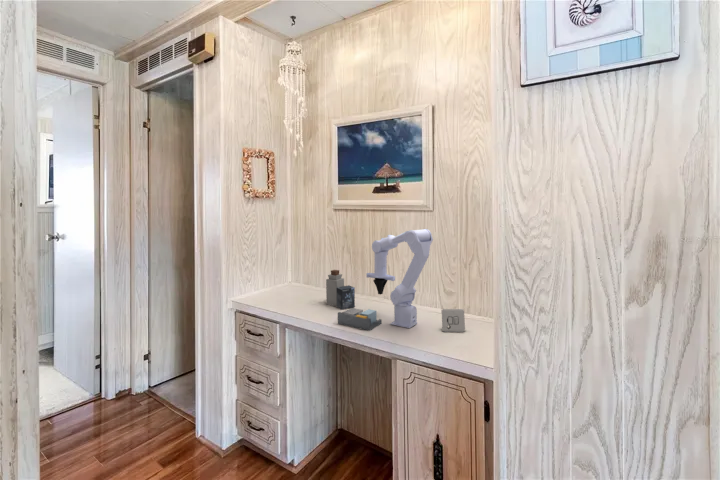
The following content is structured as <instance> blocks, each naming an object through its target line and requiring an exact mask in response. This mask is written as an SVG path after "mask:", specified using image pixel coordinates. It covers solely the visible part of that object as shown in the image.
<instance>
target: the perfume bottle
mask: <svg viewBox="0 0 720 480" xmlns="http://www.w3.org/2000/svg"><path fill="white" fill-rule="evenodd" d="M327 277H328V278H325V291H326V305H328V306H331V307H337V287H342V286H345V278H344V277H343V274H341V273H340V270H339V269H332V270H330V274H327Z"/></svg>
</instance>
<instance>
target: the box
mask: <svg viewBox="0 0 720 480" xmlns="http://www.w3.org/2000/svg"><path fill="white" fill-rule="evenodd" d="M355 292H356V290H355V287H354V286H351V285H350V284H348V285H344V286H342V287H337V306H336V308H338V309H339V310H348V309H351V308H355V307H356V306H355V304H356V301H355V299H356V296H355V294H356V293H355Z"/></svg>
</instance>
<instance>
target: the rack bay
mask: <svg viewBox="0 0 720 480" xmlns="http://www.w3.org/2000/svg"><path fill="white" fill-rule="evenodd" d="M362 312H364V309H360V308H355V307H352V308H348V309H346V310H345V311H343V312H340V311H339V312H337V325H341V326H346V327H350V328H355V329H360V330H363V331H371V330H373V329H375V328H377V327H379V326H381V325H382V321H383V320H382V319H381V318H378V319H377V320H376V321H375V322H373V323H371V318H368V317H367V316H362V315H360V313H362Z"/></svg>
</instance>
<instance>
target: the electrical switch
mask: <svg viewBox="0 0 720 480" xmlns="http://www.w3.org/2000/svg"><path fill="white" fill-rule="evenodd" d="M465 324H466V323H465V310H464V309H463V308H441V331H442V332H444V333H445V332H446V333H447V332H448V333H465V331H466V325H465Z"/></svg>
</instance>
